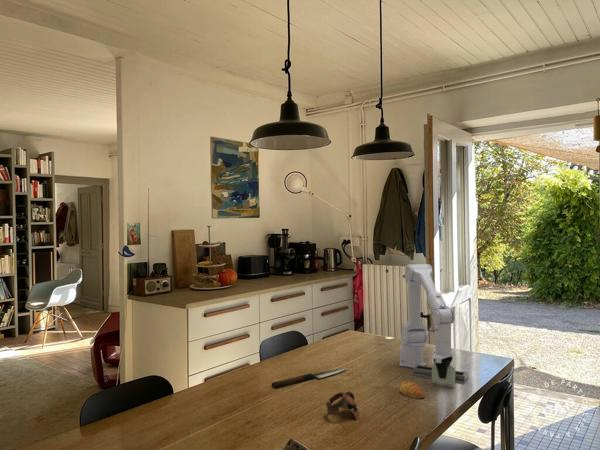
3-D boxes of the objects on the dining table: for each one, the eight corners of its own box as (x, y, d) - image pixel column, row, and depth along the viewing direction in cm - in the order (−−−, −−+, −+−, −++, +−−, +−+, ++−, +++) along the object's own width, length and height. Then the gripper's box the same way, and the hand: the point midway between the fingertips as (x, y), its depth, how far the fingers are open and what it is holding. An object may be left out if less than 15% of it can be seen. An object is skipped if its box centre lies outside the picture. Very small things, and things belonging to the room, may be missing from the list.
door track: (411, 375, 182) (411, 369, 182) (417, 369, 189) (417, 363, 189) (463, 384, 172) (463, 377, 172) (468, 378, 178) (468, 371, 178)
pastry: (430, 397, 160) (429, 386, 160) (415, 401, 156) (415, 390, 156) (411, 389, 168) (411, 378, 168) (397, 392, 165) (396, 382, 165)
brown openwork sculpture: (357, 426, 138) (343, 403, 138) (332, 433, 143) (318, 411, 142) (367, 402, 149) (354, 380, 149) (343, 409, 153) (331, 389, 153)
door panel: (431, 380, 171) (431, 364, 171) (433, 379, 173) (433, 363, 173) (453, 384, 167) (453, 368, 167) (455, 382, 169) (455, 366, 168)
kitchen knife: (278, 385, 167) (271, 381, 171) (278, 391, 167) (271, 387, 171) (351, 367, 188) (343, 364, 192) (351, 372, 188) (343, 369, 192)
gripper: (449, 346, 161) (449, 385, 161) (458, 337, 174) (458, 373, 174) (429, 344, 165) (429, 381, 165) (439, 335, 177) (440, 370, 178)
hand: (443, 377), depth 170 cm, fingers closed on door panel, 2 cm apart
